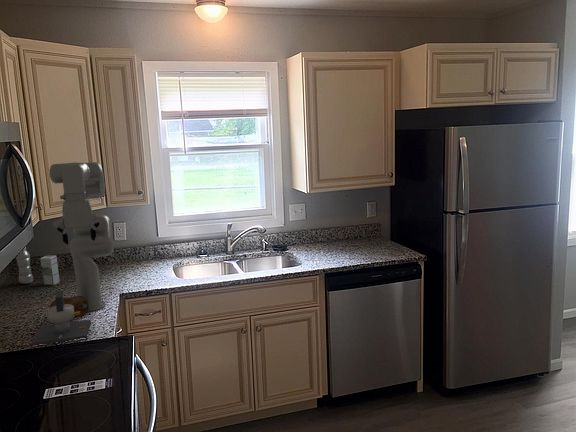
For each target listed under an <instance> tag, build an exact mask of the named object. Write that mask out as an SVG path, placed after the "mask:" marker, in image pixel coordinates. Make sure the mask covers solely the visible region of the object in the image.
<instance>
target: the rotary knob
mask: <svg viewBox="0 0 576 432" xmlns="http://www.w3.org/2000/svg"><path fill="white" fill-rule="evenodd" d="M63 291H64V290H59V291H55V297H54V298H55V300H56V306H53V307H51V308H47V310H46V311H47V318H48V323H51V324H55V323H61V322H66V321H69V322H70V321H71V320H74V319H75V318H76V317H75V316H76V315H80V311H78V312H74V306H73V305H71V304H64V299H63V298H64V292H63ZM55 300H54V301H55Z"/></svg>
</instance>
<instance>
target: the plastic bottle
mask: <svg viewBox="0 0 576 432" xmlns="http://www.w3.org/2000/svg"><path fill="white" fill-rule="evenodd" d="M15 259H16V263H17V267H18V282H19V283H20V284H23V285H27V284H30V283H32V282H33V281H34V276H33V274H32V269H31V254H30V253H29V251H27V246H26V247H25V248H24V249H23V250H22V251H21V252H20V254H18V256H17V257H16V256H15Z"/></svg>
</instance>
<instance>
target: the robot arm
mask: <svg viewBox="0 0 576 432" xmlns="http://www.w3.org/2000/svg"><path fill="white" fill-rule="evenodd" d="M49 177H50V180H51V182H52V183H53V184H62V187H63V194H62V195H59V196H60V197H59V199H60V200H63V202H62V210H61V211H62V216H61V217H60V218H59V219H58V220H56V221H54V222H53V223H52V225H53V227H54V228H55V230H57V231H58V232H59V233H61V237H62V242H63V243H64V244H65V245H69V250H70V254H71V255H70V256H71V259H72V262H73V269H74V276H75V277H74V278H75V279H74V280H75V285H76V287H75V288H76V296H82V297H84V298H86V299H87V301H88V303H89V307H88V311H87V312H89V313H90V312H95V311H98V310H101V309H103V308H104V307H106V306H107V305H106V301H104V300H102V296H101V295H102V293H101V283H100V274H99V273H100V272H99V267H98V264H97V263H96V262H95V261H94V258H102V257H103V258H104V257H108V256H111V255H112V254H113V253H114V249H115V248H114V237H113V229H112V223H111V219H110V217H109V216H107V215H103V214H102V215H99V214H98V215H95V214H93V208H92V207H91V202H90V200H89V199H101V198H103V197H104V196H105V195H106V184H105V176H104V170H103V168H102V165H101V164H100V163H98V162H96V161H95V162H94V161H93V162H91V161H90V162H77V161H75V162H67V163H65V162H64V163H63V162H62V163H53V164H51V165H50V167H49ZM60 224H63V225H62V226H63V228H61V227H60V226H59V225H60ZM69 229H72V232H73V235H74V236H75V238H72V239H71V241H70V242H69V236H68V231H69ZM87 312H86V313H87Z"/></svg>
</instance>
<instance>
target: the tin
mask: <svg viewBox="0 0 576 432" xmlns="http://www.w3.org/2000/svg"><path fill="white" fill-rule="evenodd" d="M63 299H64V304H71V305H73V306H74V312H78V311H80V315H76V316H75V317H74V318H77V317H78V318H79V317H82V316H84V315H86V314H87V311H88V307H89V303H88V301H87V299H86V298H84V297H82V296H77V295H75V296H69V297H63ZM53 306H56V300H53V301H52V302H51V304H50V305H49V308H51V307H53ZM49 308H48V309H49Z"/></svg>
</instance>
